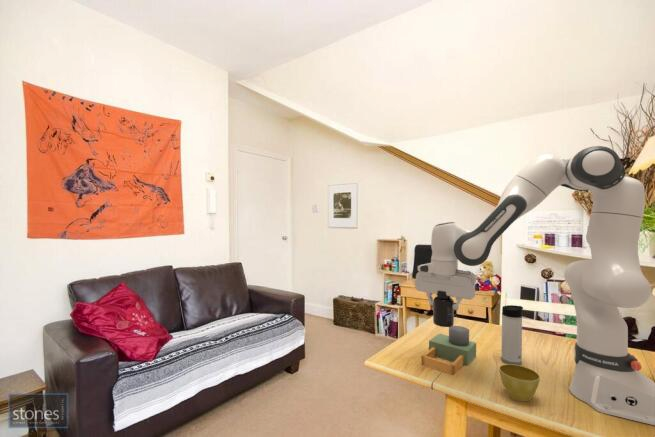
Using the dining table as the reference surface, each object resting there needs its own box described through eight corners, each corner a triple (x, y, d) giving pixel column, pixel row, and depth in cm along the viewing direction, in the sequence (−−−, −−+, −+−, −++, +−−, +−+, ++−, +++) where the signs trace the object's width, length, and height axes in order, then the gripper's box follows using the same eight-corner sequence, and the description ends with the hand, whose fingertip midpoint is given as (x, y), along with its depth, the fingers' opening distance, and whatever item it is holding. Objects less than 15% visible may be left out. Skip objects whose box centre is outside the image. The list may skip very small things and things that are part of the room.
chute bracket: (463, 364, 110) (463, 355, 110) (453, 375, 103) (453, 365, 103) (432, 355, 118) (432, 347, 118) (421, 364, 110) (421, 356, 110)
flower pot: (502, 383, 98) (502, 360, 98) (541, 395, 92) (541, 370, 92) (495, 397, 90) (495, 372, 90) (537, 411, 84) (537, 385, 84)
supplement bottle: (450, 321, 113) (451, 288, 114) (456, 328, 107) (457, 293, 107) (430, 320, 114) (431, 287, 114) (435, 326, 107) (436, 291, 107)
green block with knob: (476, 356, 117) (476, 329, 117) (467, 365, 109) (468, 337, 109) (438, 345, 126) (439, 321, 126) (428, 353, 119) (429, 327, 119)
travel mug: (525, 366, 109) (526, 309, 109) (504, 364, 111) (505, 307, 110) (518, 358, 115) (519, 304, 115) (498, 356, 117) (499, 303, 117)
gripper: (478, 270, 106) (477, 311, 106) (420, 264, 119) (420, 300, 119) (472, 273, 101) (472, 315, 101) (413, 266, 115) (412, 303, 115)
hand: (443, 307), depth 110 cm, fingers closed on supplement bottle, 7 cm apart
